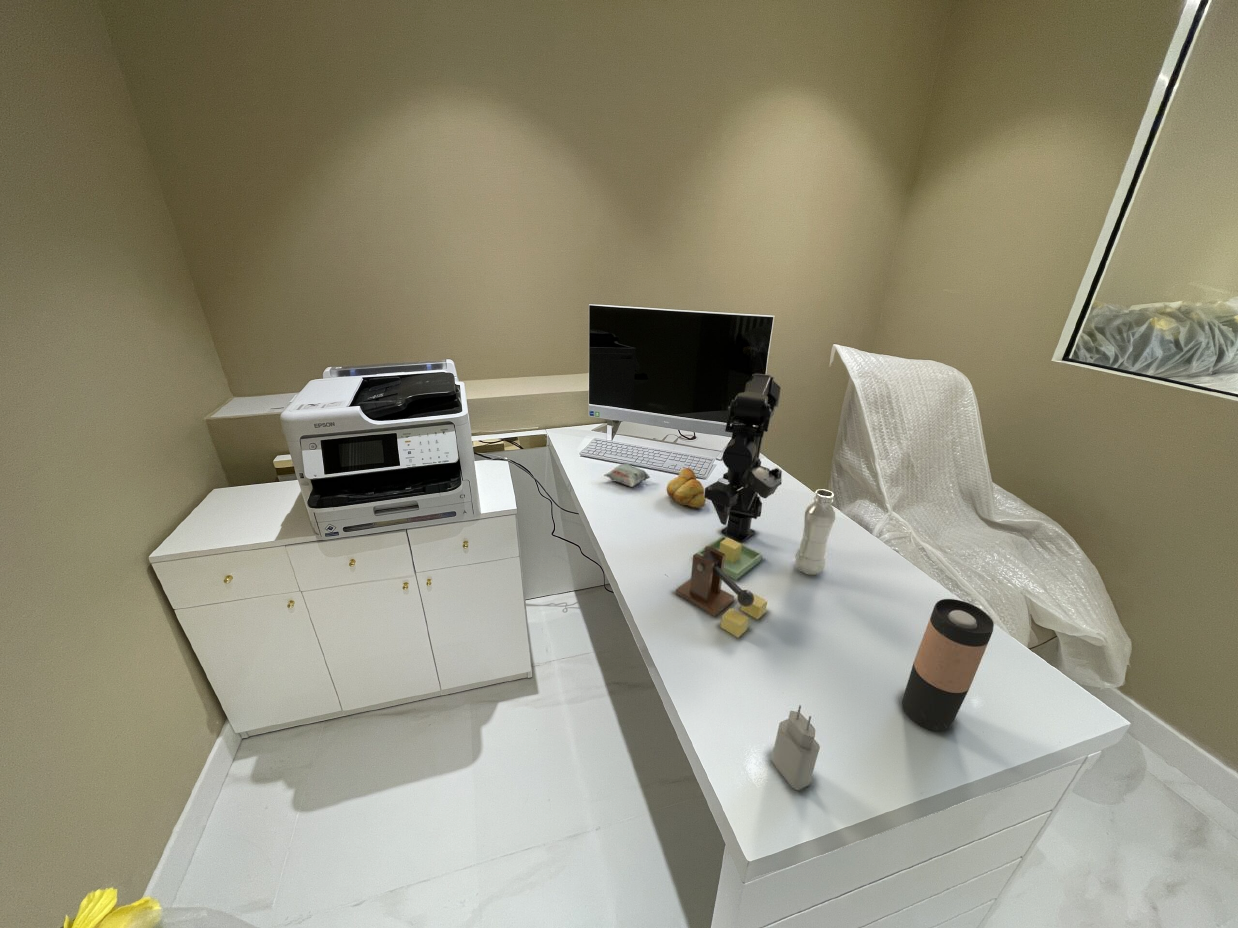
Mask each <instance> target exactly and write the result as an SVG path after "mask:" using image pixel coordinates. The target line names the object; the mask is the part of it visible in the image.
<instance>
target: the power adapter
mask: <svg viewBox="0 0 1238 928" xmlns="http://www.w3.org/2000/svg"><path fill="white" fill-rule="evenodd" d="M801 709H802V705H801V704H799V705H798V709H797V711H795V710H790V711H789V714H788V718H786V719H784V720H782V721H780V722H779V725H778V728H777V732H776V737H775V741H774V746H773V750H772V754H771V759H770V760H771V762H772V764H773V765H774V766H775V768H776V769H777V770H778V772H779V773H780V774H781V775H782V777H783V778H784V779H785V780H786V782H787V783H788V784H789V786H790V787H791V788H792V789H793V790H795V791H801V790H803V789H804V788H806V787H808V786H810V784H811V780H812V777H813V773H814V770H815V766H816V764H817V763H816V762H817V759H818V756H819V753H820V748H821V746H820V744H819V742H818V741H817V740H816V739H815V737H816V728H815V727H814V725H813V724H812V723H811V721H812V716H811V715H808V719H807V718H806V717H805V716H804V715H803V714H802V713H801Z"/></svg>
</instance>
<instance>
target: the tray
mask: <svg viewBox="0 0 1238 928" xmlns="http://www.w3.org/2000/svg"><path fill="white" fill-rule="evenodd" d="M726 538H728V537H727V536H725V535H722V536H720V537H719V538H717V539H716V540H714V541H713V542H711V543H710V544H708V545H707V546H709V547H712V548H714V549H716V550H718V551H719V550H720V542H722V541H723V540H725V539H726ZM704 551H705V547H704V548H702V549H701V550H699V551H698V552H696V553H697V554H699V555H701V556H703V555H704ZM762 559H763V553H761V552H759V551H757V550H755V549H752V548H751V547H748V546H746V545H744V544H742V548H741V554H740V559H739V560H737V561H736V562H735V563H731V562H729V561H727V560H725V561H724V568H723V572H724V573H725V574H726V575H727V576H729V577H730V578H731V579H732V580H735V581H738V580H739V578H741V577H742V576H743V575H745V574H746V573H747V572H749V571H750V570H751V569H752V568H754V567H755V566H756V565H758V564H759V563H760V562H761V561H762Z"/></svg>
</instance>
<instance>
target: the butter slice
mask: <svg viewBox="0 0 1238 928" xmlns="http://www.w3.org/2000/svg"><path fill="white" fill-rule="evenodd" d="M742 545H743V544H742V543H741V542H739V541H737V540H734V539H731V537H727V538H726V539H725V540H723V541H722V542H720V550H719V551H720V552H722V553H724V554H725V560H727V561H729V562H731V563H735V562H736V561H737V560H739V559H740V554H741V548H742Z"/></svg>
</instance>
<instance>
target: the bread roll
mask: <svg viewBox="0 0 1238 928" xmlns="http://www.w3.org/2000/svg"><path fill="white" fill-rule="evenodd" d="M704 492H705V487H704V486H703V484H702V482H701V481H700V480H698V479H697V475H696V473H695V471H694V470H693V469H691V468H689V467H688V468H687V467H686V468H683V469H682V470H680V472H679V474H678V475H677V477H674V478H673V479H671V480H670V481H669V482H668V483H667V485H666V493H667V496H669V498H671V499H673V500H674V502H676V503H677V504H679V505H683V506H688V507H690V508H702V507H703V506H705V504H706V502H707V498H705V497H704Z"/></svg>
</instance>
